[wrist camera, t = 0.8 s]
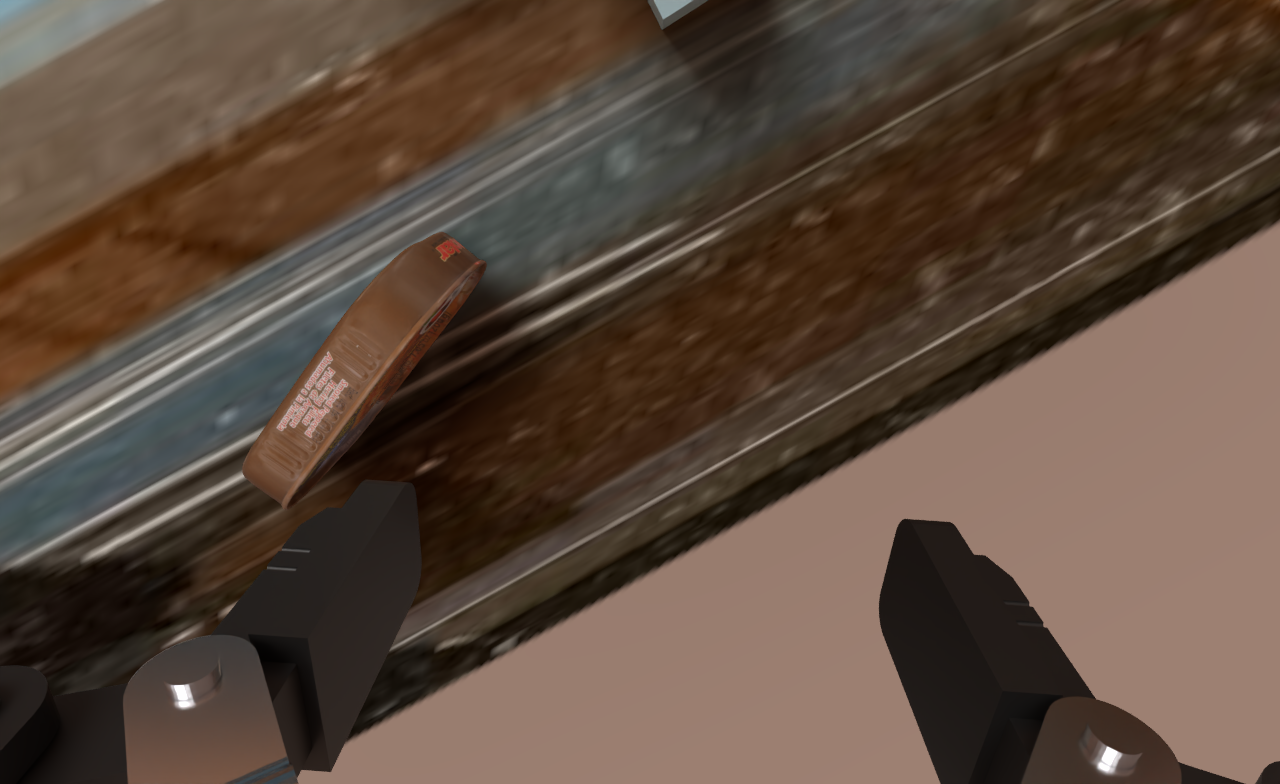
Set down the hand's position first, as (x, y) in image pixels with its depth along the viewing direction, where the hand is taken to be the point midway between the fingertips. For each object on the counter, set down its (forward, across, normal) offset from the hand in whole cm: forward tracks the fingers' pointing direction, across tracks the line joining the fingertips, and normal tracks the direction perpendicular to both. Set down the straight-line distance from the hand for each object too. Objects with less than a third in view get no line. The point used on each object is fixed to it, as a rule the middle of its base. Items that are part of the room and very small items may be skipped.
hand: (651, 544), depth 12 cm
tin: (+24, +13, +6) cm, 28 cm away
